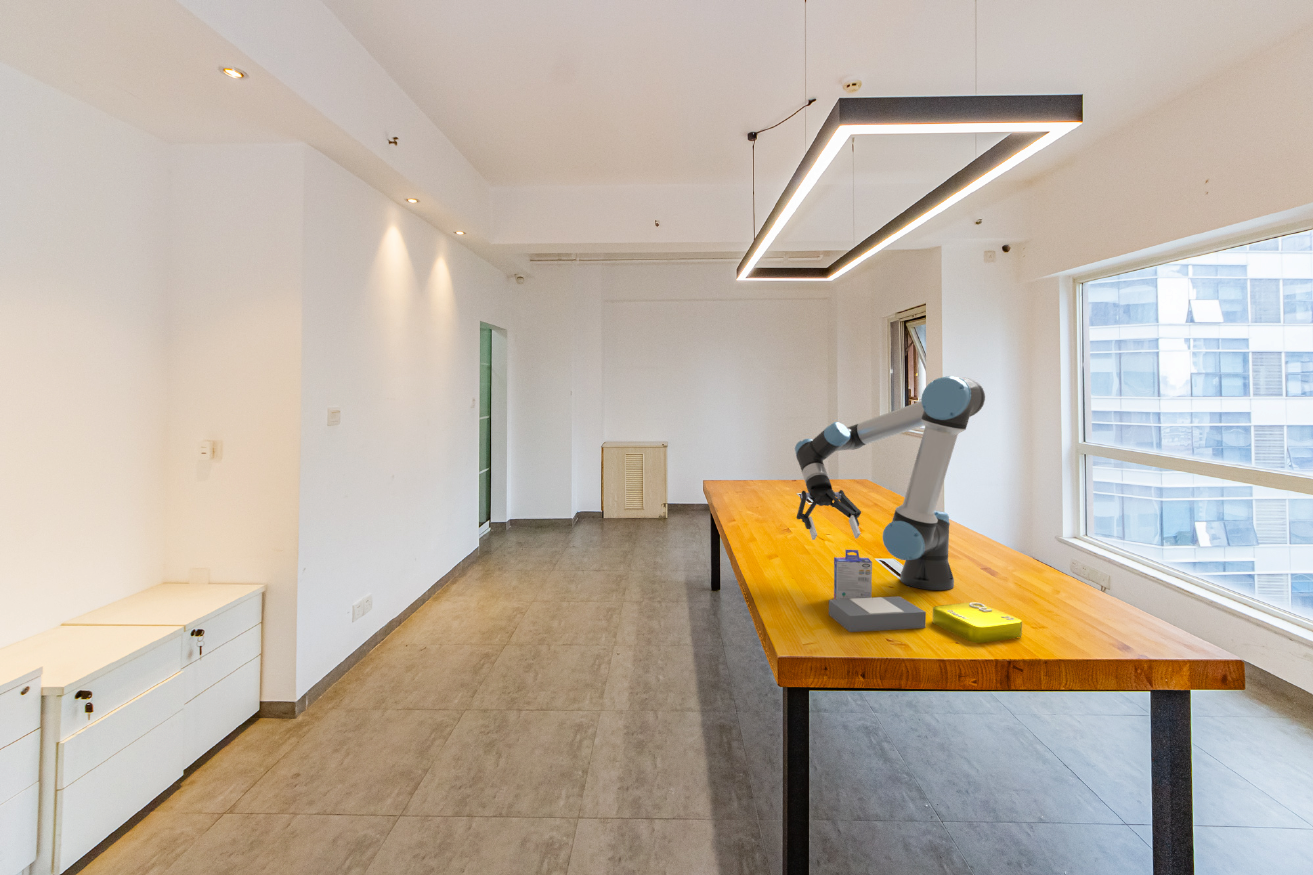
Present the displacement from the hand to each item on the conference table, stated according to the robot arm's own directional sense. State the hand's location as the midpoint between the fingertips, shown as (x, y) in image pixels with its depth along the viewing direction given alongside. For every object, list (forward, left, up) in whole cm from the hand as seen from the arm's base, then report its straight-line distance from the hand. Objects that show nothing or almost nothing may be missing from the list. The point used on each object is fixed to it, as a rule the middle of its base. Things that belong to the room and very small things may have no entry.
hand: (836, 536), depth 175 cm
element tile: (-21, +34, -17) cm, 43 cm away
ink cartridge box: (0, +11, -16) cm, 20 cm away
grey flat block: (+1, +26, -16) cm, 30 cm away
